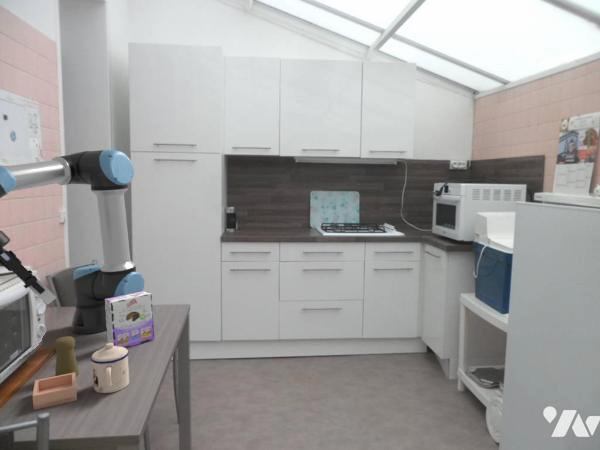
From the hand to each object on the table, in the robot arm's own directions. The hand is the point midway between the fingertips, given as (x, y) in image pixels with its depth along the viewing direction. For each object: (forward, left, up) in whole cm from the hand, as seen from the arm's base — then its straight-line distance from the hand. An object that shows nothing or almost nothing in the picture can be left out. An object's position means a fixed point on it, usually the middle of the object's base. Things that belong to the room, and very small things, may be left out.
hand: (48, 297), depth 115 cm
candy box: (-17, +22, -24) cm, 37 cm away
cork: (-1, +3, -24) cm, 24 cm away
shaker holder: (+11, +1, -23) cm, 26 cm away
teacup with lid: (+13, +13, -24) cm, 30 cm away
